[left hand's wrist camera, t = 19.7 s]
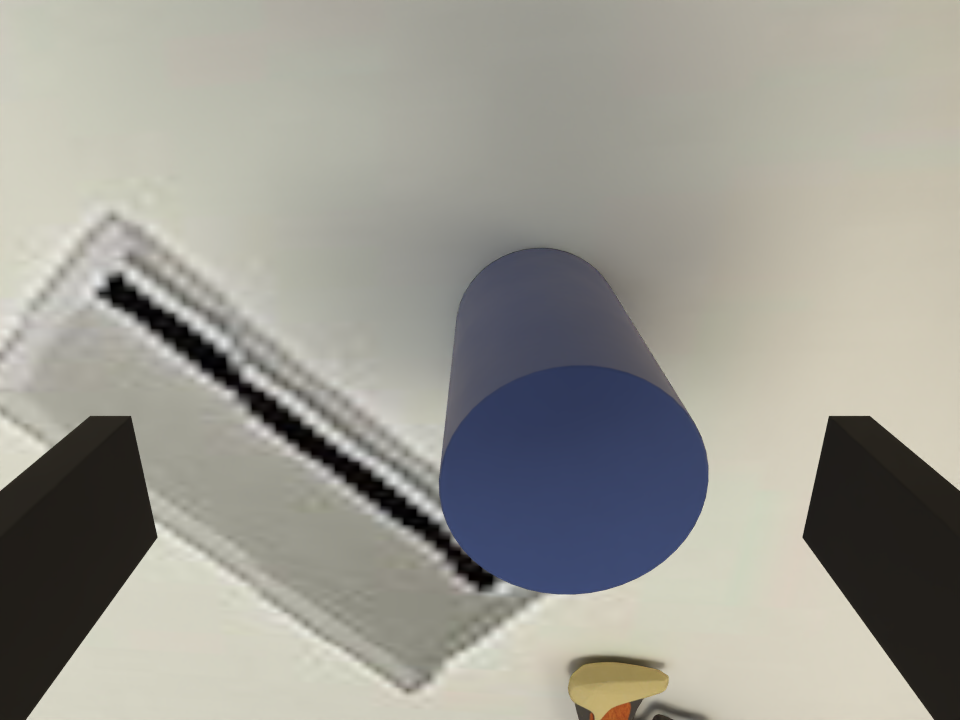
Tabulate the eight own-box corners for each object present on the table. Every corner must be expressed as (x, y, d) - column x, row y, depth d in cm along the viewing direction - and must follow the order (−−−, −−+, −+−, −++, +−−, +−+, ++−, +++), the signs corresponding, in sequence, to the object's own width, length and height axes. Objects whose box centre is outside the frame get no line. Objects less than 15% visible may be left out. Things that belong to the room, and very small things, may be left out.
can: (609, 232, 28) (700, 342, 16) (627, 386, 30) (716, 574, 19) (440, 265, 28) (411, 393, 17) (473, 413, 31) (467, 612, 19)
